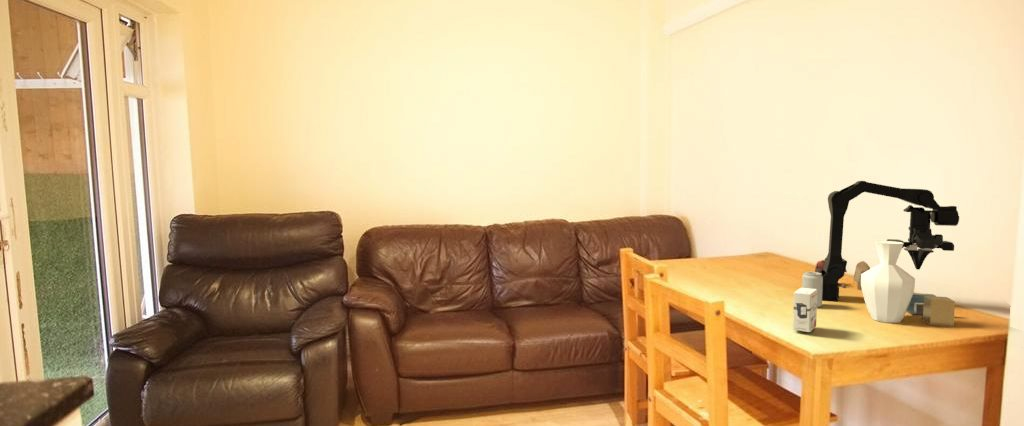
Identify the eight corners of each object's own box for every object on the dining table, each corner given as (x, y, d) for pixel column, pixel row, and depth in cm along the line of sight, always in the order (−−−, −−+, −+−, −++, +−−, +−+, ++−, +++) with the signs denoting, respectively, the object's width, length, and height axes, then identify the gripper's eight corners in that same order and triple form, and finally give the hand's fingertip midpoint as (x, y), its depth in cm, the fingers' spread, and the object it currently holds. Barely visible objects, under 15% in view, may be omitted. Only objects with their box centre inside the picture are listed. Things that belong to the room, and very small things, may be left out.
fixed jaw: (916, 313, 180) (916, 304, 180) (913, 312, 182) (914, 302, 182) (952, 316, 177) (953, 306, 177) (950, 314, 179) (950, 304, 179)
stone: (856, 292, 216) (867, 295, 214) (862, 269, 214) (873, 271, 212) (851, 280, 232) (862, 282, 230) (857, 259, 230) (867, 261, 228)
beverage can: (819, 304, 196) (820, 271, 195) (823, 309, 190) (824, 274, 189) (799, 303, 198) (800, 270, 197) (803, 307, 192) (804, 274, 191)
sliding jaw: (876, 301, 196) (877, 292, 196) (874, 300, 198) (875, 291, 198) (935, 305, 190) (935, 295, 190) (932, 303, 193) (932, 294, 192)
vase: (914, 328, 167) (918, 246, 165) (859, 321, 174) (862, 243, 172) (910, 317, 179) (914, 241, 177) (859, 311, 186) (862, 238, 184)
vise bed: (912, 315, 181) (912, 313, 181) (896, 304, 196) (896, 302, 196) (952, 318, 177) (952, 316, 177) (932, 306, 192) (932, 304, 192)
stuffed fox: (846, 291, 216) (847, 261, 215) (814, 288, 222) (814, 259, 221) (846, 288, 223) (847, 258, 222) (814, 285, 228) (815, 256, 228)
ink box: (799, 323, 173) (800, 286, 172) (816, 326, 170) (818, 288, 169) (792, 329, 166) (793, 291, 165) (810, 332, 163) (811, 293, 162)
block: (930, 325, 169) (931, 300, 169) (922, 320, 175) (923, 295, 174) (953, 327, 167) (954, 301, 167) (945, 321, 173) (946, 297, 173)
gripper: (896, 226, 187) (894, 272, 188) (962, 228, 181) (960, 274, 182) (885, 223, 197) (883, 266, 198) (948, 224, 191) (945, 269, 193)
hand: (917, 269), depth 193 cm, fingers closed
